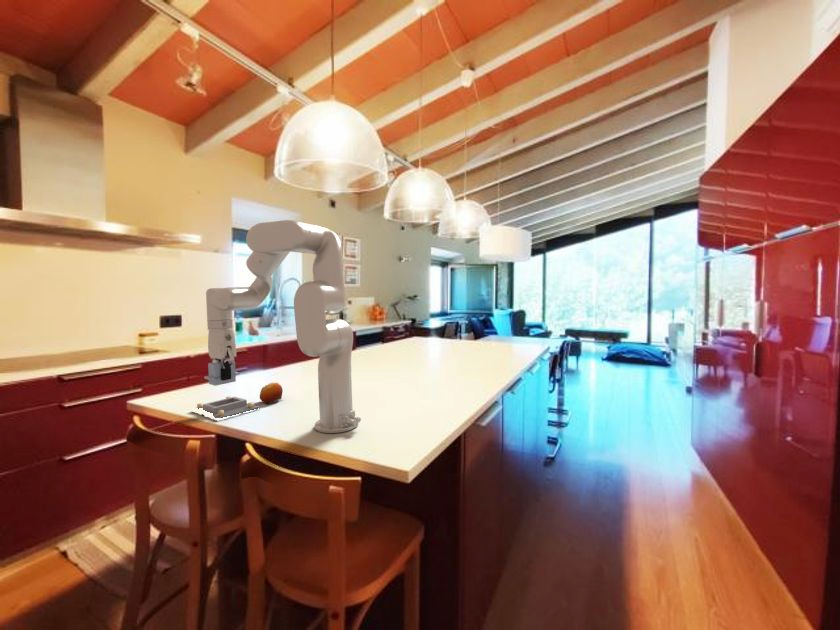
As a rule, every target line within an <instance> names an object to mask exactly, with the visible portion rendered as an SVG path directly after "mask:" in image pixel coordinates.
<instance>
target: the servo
mask: <svg viewBox="0 0 840 630" xmlns="http://www.w3.org/2000/svg"><path fill="white" fill-rule="evenodd" d="M226 361H227V360H226ZM226 361H224V363H225V362H226ZM207 364H208V365H207V367H208V375H206V376H203V378H204V379H205V380H208V384H209V385H212V386H221V385H225V384H231V383H236V376H237V375H241V374H240V372H238V371H236V361H235V360H234V361H233V362H232V364H231V365H232V367H231V379H229V380H224V381H222V380H221V369H222V365H221V361H220V362H219V360H213V362H209V363H207Z"/></svg>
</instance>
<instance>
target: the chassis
mask: <svg viewBox="0 0 840 630" xmlns="http://www.w3.org/2000/svg"><path fill="white" fill-rule="evenodd" d="M247 401H248V400H247V399H246V398H241V397H237V396H231V395H230V396H225V398H224V399H223V398H222V399H219V400H214V401H210V402H207V403H202V402H201V403H197V405H196V408H198V409H199V408H203V410H205V411H207V412H210V413H213V416H214V417H215V418H223V417H227V416H232V415H236V414H239V413H243V412H246V411H250V410H254V409H258V408H259V409H260V406H257V405H254V402H253V401H252V402H247Z"/></svg>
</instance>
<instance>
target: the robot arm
mask: <svg viewBox="0 0 840 630" xmlns="http://www.w3.org/2000/svg"><path fill="white" fill-rule="evenodd" d="M245 238H246V240H245V241H246V244H247V247H248V248H249V250H251V251H252V252H251V253H250V255H249V256H248V258H247V259H246V264H245V265H246V267H247V269H248V270H249V271H250V273H251V274H253V275H254V276H255V277H256V278H255V279H254V281H253V282H252V283H251V284H250V285H249V286H248V287H247V286H241V287H240V286H235V287H232V286H230V287H229V286H228V287H211V288H207V289H206V292H205V296H206V298H205V299H206V303H205V304H206V320H207V321H206V323H207V325H206V326H207V331H208V335H207V336H208V337H207V340H208V341H207V345H208V346H207V347H208V348H207V350H208V356H209V359H210V360H211V363H213V360H219V362H220V361H221V365H222V369H221V380H222V381H224V380H229V379H231V367H232V365H231V364H232V362H233V361H235V358H237V348H236V347H237V346H236V337H235V332H234V328H233V327H234V326H233V325H234V324H233V311H243V310H253V309H256V308H258V307H259V306H261V304H263V303H264V301H265V300H266V299H267V298H268V296H269V294H270V293H271V291H272V286H273V278H272V276H273V274H274V273H275V271H277V269H278V268H279V267H280V265H282V263H283V262H284V260H285V259H286V258H287V256H288V255H289V254H290V253H293V252H294V253H301V254H310V255H311V254H313V255H315V258H314V260H313V263H312V277H313V278H312V281H311V280H310V281H306V282H303V283H302V284H301V285H300V286H298V287H297V289H296V291H295V294H294V298H293V313H294V322H295V332H296V333H295V335H296V341H297V345H298V347H299V349H300V351H301V352H302V354H304V355H306V356H308V357H312V358H315V357H316V358H317V357H319V358H318V364H317V380H318V404H319V419H318V420H317V421H315V422H314V429H315V430H316V431H317V432H320V433H323V434H338V433H344V432H349V431H351V430H354V429H355V428H357V427H358V425H359V423H360V422H361V420H362V418H361V417H358V416H356V411H355V410H353V408H354V407H353V385H352V384H353V382H352V352H353V345H354V333H353V332H354V331H353V329H352V326H351V325H350V324H349V323H348V322H347V321H346V320H344V319H341V318H329V319H327V316H329V315H334V314H338V313H340V312H342V311H343V310H344V308H345V306H346V290H345V289H346V288H345V280H344V278H345V277H344V267H343V246H342V242H341V239H340V238H339V236H338V235H337V234H336V233H335V232H334V231H333V230H331V229H329V228H327V227H324V226H320V225H317V224H312V223H307V222H302V221H297V220H292V219H285V220H284V219H283V220H277V221H267V222H258V223H256V224H254V225H252V226H251V228H249V229H248V231H247V234H246V237H245ZM226 360H227V361H226ZM224 361H226V362H225V363H224Z"/></svg>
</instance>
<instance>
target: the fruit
mask: <svg viewBox="0 0 840 630" xmlns="http://www.w3.org/2000/svg"><path fill="white" fill-rule="evenodd" d="M283 392H284V391H283V387H282V385H281V384H280V383H278V382H270V383H268V384H267V385H264V386H263V387H262V388H261V389H260V392H259V399H260V401H262V402H263V403H264V402H265V403H264V404H267V403H269V404H272V402H274V403H278V402H279V401H280V400H281V399H282V397H283Z"/></svg>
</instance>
